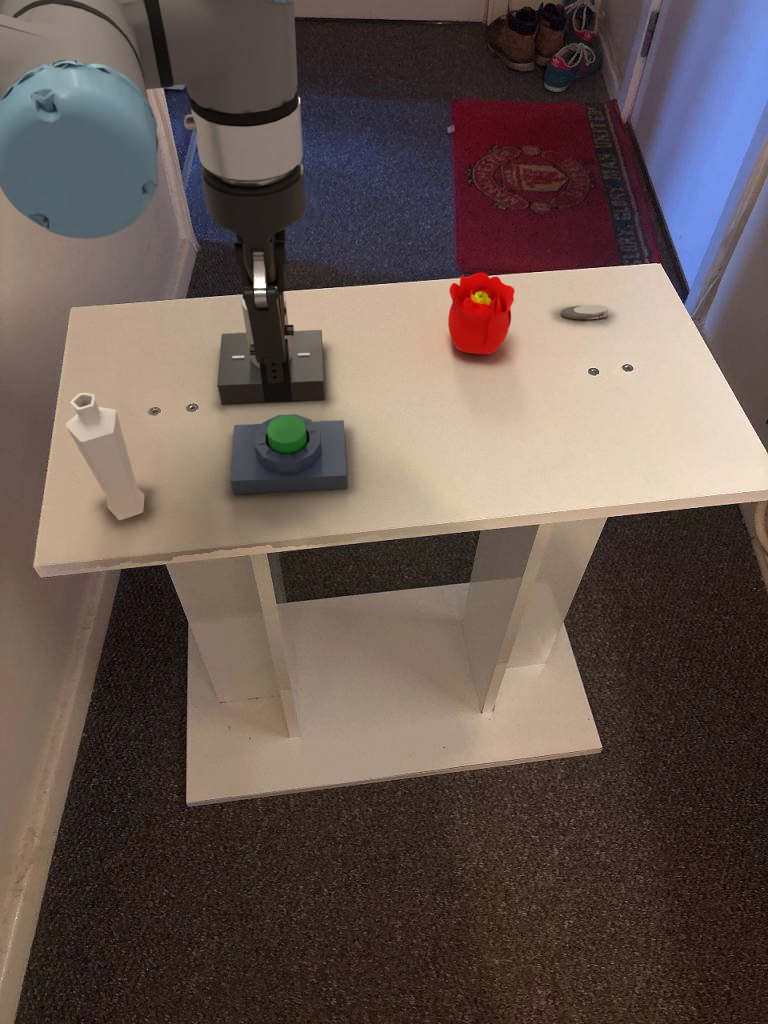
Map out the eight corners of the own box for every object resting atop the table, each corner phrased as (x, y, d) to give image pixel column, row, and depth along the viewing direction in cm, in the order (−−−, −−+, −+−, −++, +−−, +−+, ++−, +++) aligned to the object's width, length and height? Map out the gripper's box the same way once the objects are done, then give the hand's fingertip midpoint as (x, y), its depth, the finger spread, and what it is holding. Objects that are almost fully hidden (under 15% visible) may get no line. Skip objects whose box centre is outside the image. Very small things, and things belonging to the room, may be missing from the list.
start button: (268, 455, 78) (266, 444, 76) (269, 427, 80) (267, 415, 79) (307, 453, 78) (305, 442, 77) (306, 425, 80) (305, 414, 79)
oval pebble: (560, 322, 98) (561, 315, 97) (559, 310, 99) (560, 303, 98) (608, 321, 97) (610, 314, 96) (606, 309, 98) (607, 302, 98)
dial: (291, 369, 87) (285, 310, 80) (249, 371, 86) (239, 311, 80) (291, 341, 89) (285, 282, 83) (251, 343, 89) (241, 284, 83)
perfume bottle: (143, 481, 80) (103, 376, 68) (154, 511, 78) (114, 407, 66) (100, 495, 79) (51, 391, 67) (109, 526, 77) (61, 423, 65)
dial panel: (221, 404, 87) (216, 384, 85) (225, 352, 93) (221, 332, 90) (324, 399, 88) (323, 379, 85) (322, 348, 93) (321, 328, 91)
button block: (233, 494, 79) (227, 469, 76) (236, 438, 84) (231, 413, 81) (347, 488, 80) (346, 463, 77) (344, 433, 85) (343, 408, 82)
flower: (517, 340, 95) (528, 287, 88) (487, 375, 91) (495, 321, 85) (463, 317, 97) (470, 264, 91) (432, 350, 94) (436, 296, 87)
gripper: (205, 119, 59) (242, 353, 78) (192, 211, 51) (237, 446, 70) (302, 118, 59) (315, 351, 78) (304, 209, 52) (318, 443, 70)
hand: (278, 396), depth 74 cm, fingers closed
